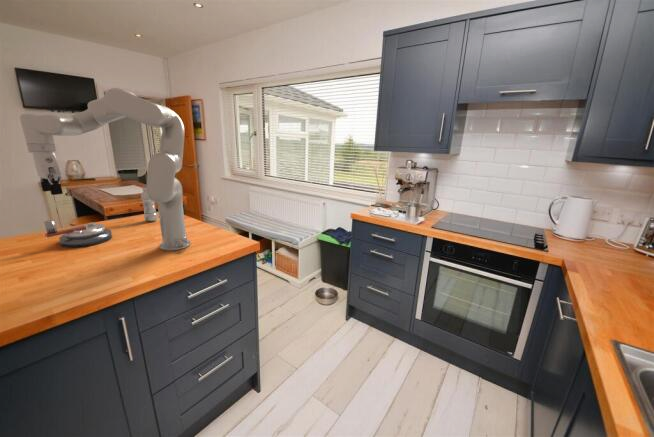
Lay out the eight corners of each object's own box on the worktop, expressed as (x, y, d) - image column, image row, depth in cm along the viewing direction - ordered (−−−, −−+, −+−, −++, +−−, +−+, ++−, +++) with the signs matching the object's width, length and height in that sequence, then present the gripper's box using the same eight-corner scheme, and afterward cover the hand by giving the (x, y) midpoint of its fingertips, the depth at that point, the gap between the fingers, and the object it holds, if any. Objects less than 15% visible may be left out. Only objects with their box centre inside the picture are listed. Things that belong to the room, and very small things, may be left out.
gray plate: (119, 238, 129) (118, 232, 129) (71, 251, 114) (70, 244, 113) (100, 231, 138) (99, 225, 137) (53, 242, 122) (51, 236, 121)
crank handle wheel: (111, 232, 128) (107, 214, 125) (55, 245, 111) (49, 225, 108) (96, 227, 134) (93, 210, 132) (41, 239, 117) (36, 219, 115)
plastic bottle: (153, 222, 154) (148, 188, 148) (142, 222, 154) (136, 187, 148) (160, 219, 160) (156, 186, 154) (149, 219, 160) (144, 185, 154)
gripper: (63, 149, 102) (73, 194, 107) (47, 147, 111) (57, 188, 115) (35, 150, 96) (47, 197, 101) (21, 147, 104) (32, 190, 109)
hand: (52, 192), depth 108 cm, fingers open, 9 cm apart
